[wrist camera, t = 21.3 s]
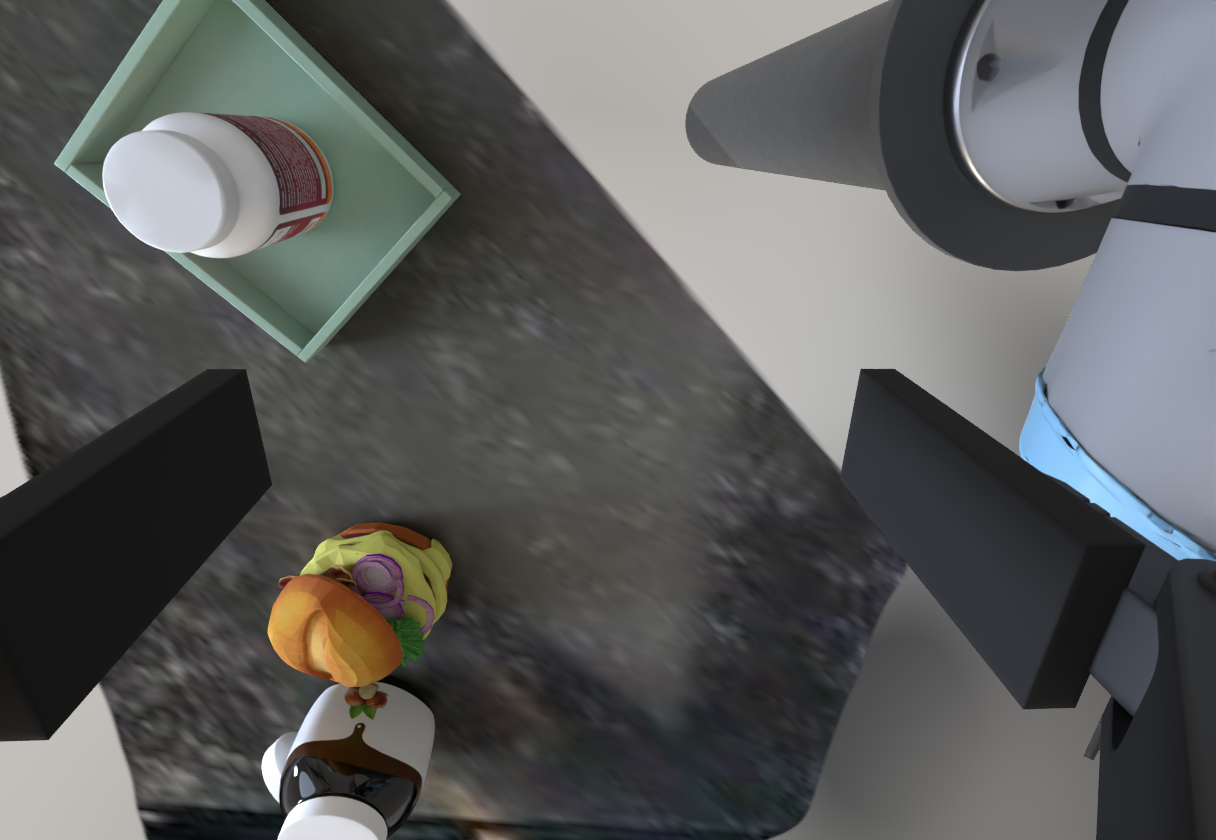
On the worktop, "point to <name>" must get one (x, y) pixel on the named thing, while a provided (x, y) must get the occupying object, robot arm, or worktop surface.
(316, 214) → the pill bottle
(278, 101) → the tray
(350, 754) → the spread jar
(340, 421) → the worktop surface
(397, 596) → the cheeseburger
